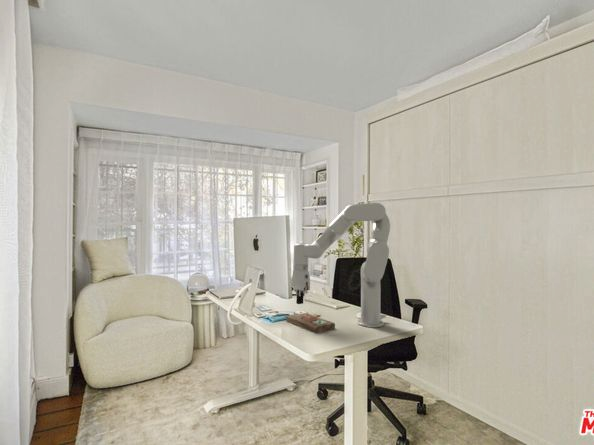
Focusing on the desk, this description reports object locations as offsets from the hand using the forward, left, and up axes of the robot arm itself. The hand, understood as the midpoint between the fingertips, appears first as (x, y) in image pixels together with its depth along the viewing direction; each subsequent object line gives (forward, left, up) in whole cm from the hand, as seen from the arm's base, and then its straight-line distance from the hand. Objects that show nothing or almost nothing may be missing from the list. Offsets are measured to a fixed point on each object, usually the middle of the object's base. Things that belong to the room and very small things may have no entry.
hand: (299, 303), depth 168 cm
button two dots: (0, +8, -7) cm, 11 cm away
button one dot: (0, 0, -7) cm, 7 cm away
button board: (0, +8, -9) cm, 12 cm away
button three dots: (0, +15, -9) cm, 18 cm away
